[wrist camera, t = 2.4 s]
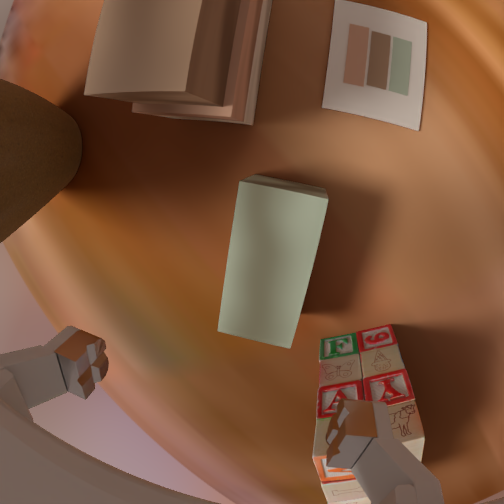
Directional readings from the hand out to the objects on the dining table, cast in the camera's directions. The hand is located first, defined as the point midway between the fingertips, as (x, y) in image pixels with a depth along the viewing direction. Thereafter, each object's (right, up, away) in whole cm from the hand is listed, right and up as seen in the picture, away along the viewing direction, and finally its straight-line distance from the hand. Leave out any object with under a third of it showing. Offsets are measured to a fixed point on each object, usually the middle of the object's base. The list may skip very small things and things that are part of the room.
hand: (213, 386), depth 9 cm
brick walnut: (-2, +17, +4) cm, 17 cm away
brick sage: (+3, +5, +14) cm, 15 cm away
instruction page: (+10, +18, +8) cm, 22 cm away
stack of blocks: (+13, -12, +18) cm, 25 cm away
